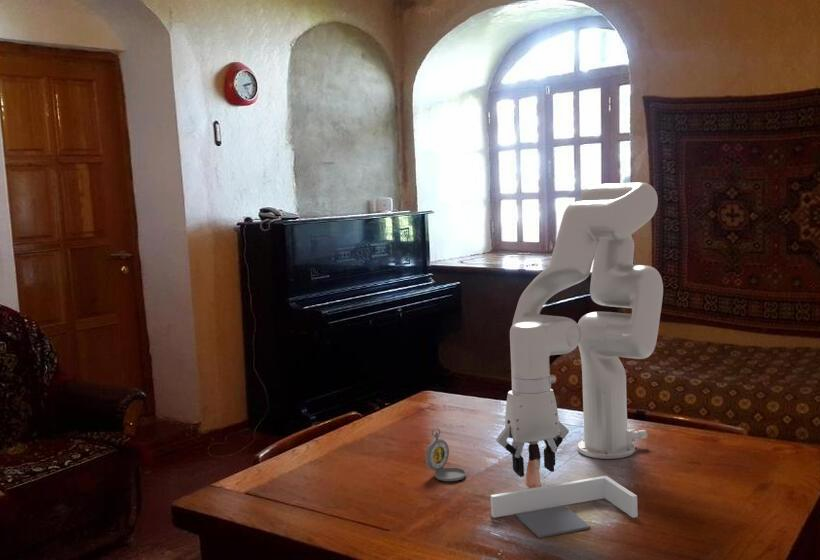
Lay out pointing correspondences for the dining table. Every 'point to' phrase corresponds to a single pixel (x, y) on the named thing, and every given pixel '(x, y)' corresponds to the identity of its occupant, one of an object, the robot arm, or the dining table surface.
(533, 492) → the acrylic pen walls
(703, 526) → the dining table surface
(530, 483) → the grandmother figurine
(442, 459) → the pocket watch
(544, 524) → the slate mat
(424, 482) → the dining table surface
